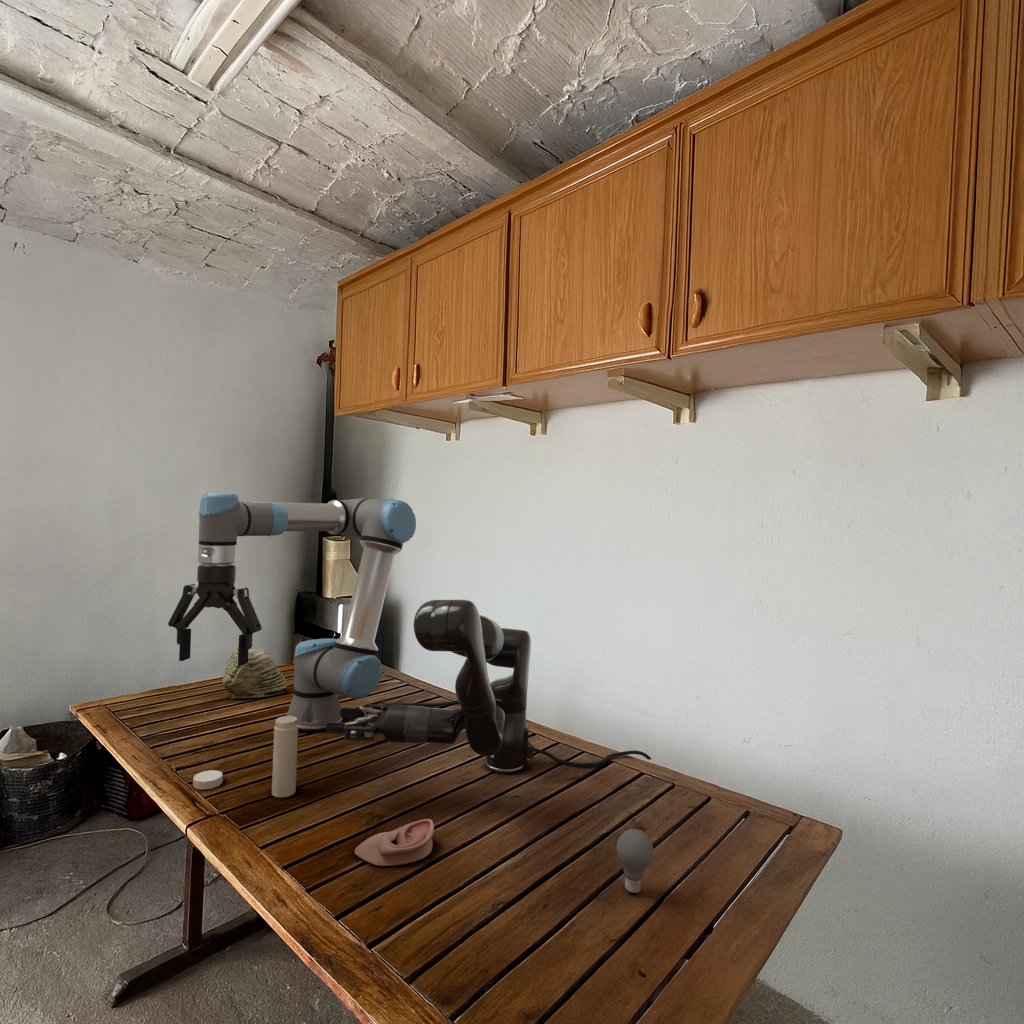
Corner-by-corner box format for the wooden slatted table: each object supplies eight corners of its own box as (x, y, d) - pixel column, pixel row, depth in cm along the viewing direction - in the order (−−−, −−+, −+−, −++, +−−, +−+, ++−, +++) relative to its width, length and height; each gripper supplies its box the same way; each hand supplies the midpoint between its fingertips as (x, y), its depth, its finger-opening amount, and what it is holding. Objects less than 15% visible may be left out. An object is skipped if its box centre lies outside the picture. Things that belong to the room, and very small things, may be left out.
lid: (222, 787, 136) (222, 779, 136) (191, 791, 134) (192, 783, 134) (222, 776, 141) (223, 768, 141) (193, 779, 139) (193, 772, 139)
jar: (267, 791, 135) (269, 718, 135) (288, 784, 139) (291, 713, 138) (278, 799, 132) (281, 725, 131) (300, 792, 135) (303, 719, 135)
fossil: (218, 695, 195) (220, 647, 195) (278, 685, 208) (279, 640, 207) (228, 703, 189) (230, 653, 188) (289, 692, 201) (290, 645, 201)
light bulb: (610, 879, 108) (613, 822, 108) (644, 879, 109) (647, 822, 109) (619, 902, 102) (622, 840, 102) (655, 901, 103) (658, 840, 103)
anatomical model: (347, 838, 110) (374, 807, 122) (346, 860, 111) (373, 828, 122) (419, 850, 108) (440, 817, 119) (418, 873, 108) (439, 838, 119)
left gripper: (152, 562, 135) (148, 661, 135) (262, 569, 132) (258, 670, 132) (175, 559, 142) (172, 653, 143) (280, 565, 139) (276, 661, 139)
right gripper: (417, 695, 140) (345, 691, 141) (402, 719, 126) (322, 714, 127) (416, 728, 141) (345, 724, 142) (401, 756, 126) (321, 751, 128)
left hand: (213, 662), depth 137 cm, fingers open, 13 cm apart
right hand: (334, 719), depth 134 cm, fingers open, 8 cm apart
